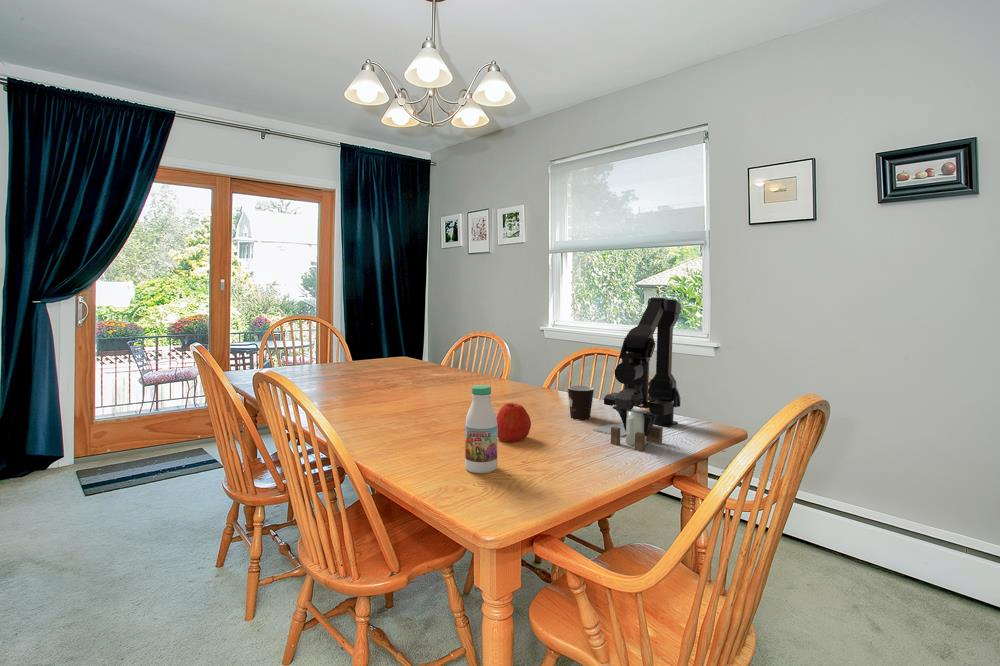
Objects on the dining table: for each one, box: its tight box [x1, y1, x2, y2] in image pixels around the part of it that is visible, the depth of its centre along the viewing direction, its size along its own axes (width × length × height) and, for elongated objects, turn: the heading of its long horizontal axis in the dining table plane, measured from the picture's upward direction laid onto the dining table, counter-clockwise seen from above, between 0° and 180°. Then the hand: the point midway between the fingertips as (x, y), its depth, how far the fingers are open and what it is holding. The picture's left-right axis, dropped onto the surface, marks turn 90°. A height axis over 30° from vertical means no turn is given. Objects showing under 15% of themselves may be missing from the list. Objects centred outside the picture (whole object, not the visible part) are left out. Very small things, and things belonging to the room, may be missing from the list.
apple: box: [496, 402, 532, 443], centre depth 150 cm, size 10×10×10 cm
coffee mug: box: [567, 385, 595, 421], centre depth 176 cm, size 12×9×10 cm
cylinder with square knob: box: [625, 408, 648, 446], centre depth 145 cm, size 7×6×9 cm
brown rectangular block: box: [610, 424, 664, 452], centre depth 146 cm, size 11×10×4 cm
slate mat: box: [592, 423, 626, 438], centre depth 159 cm, size 10×10×1 cm
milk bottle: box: [464, 384, 498, 474], centre depth 125 cm, size 8×8×20 cm
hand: (636, 433), depth 146 cm, fingers closed on cylinder with square knob, 6 cm apart
